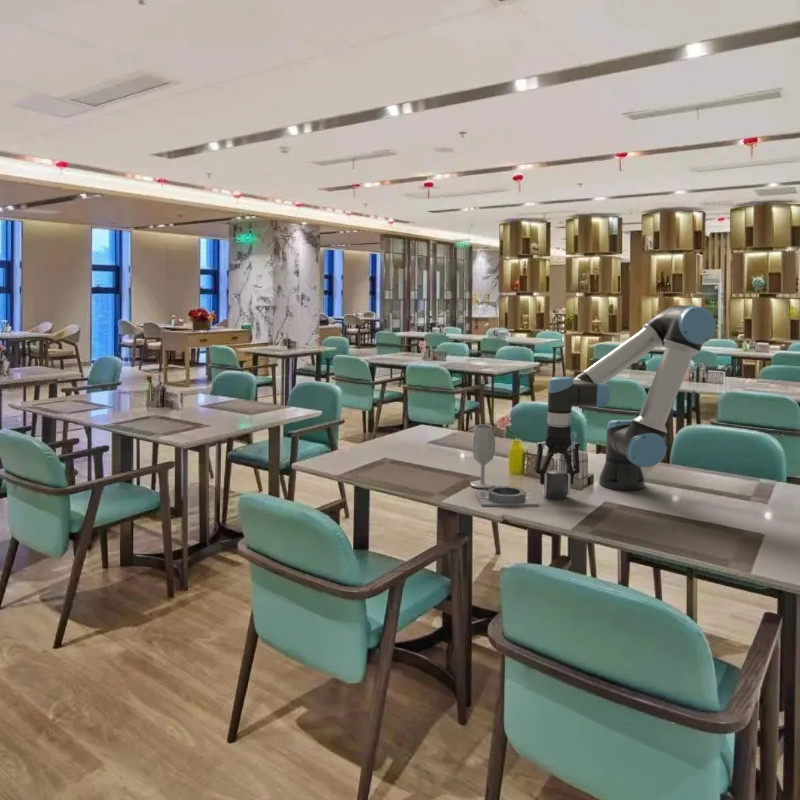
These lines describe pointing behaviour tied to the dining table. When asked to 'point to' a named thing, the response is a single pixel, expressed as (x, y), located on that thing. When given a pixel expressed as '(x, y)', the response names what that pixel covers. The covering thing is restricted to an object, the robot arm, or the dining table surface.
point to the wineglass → (483, 452)
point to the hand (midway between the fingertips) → (555, 493)
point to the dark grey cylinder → (556, 485)
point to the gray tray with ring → (506, 497)
